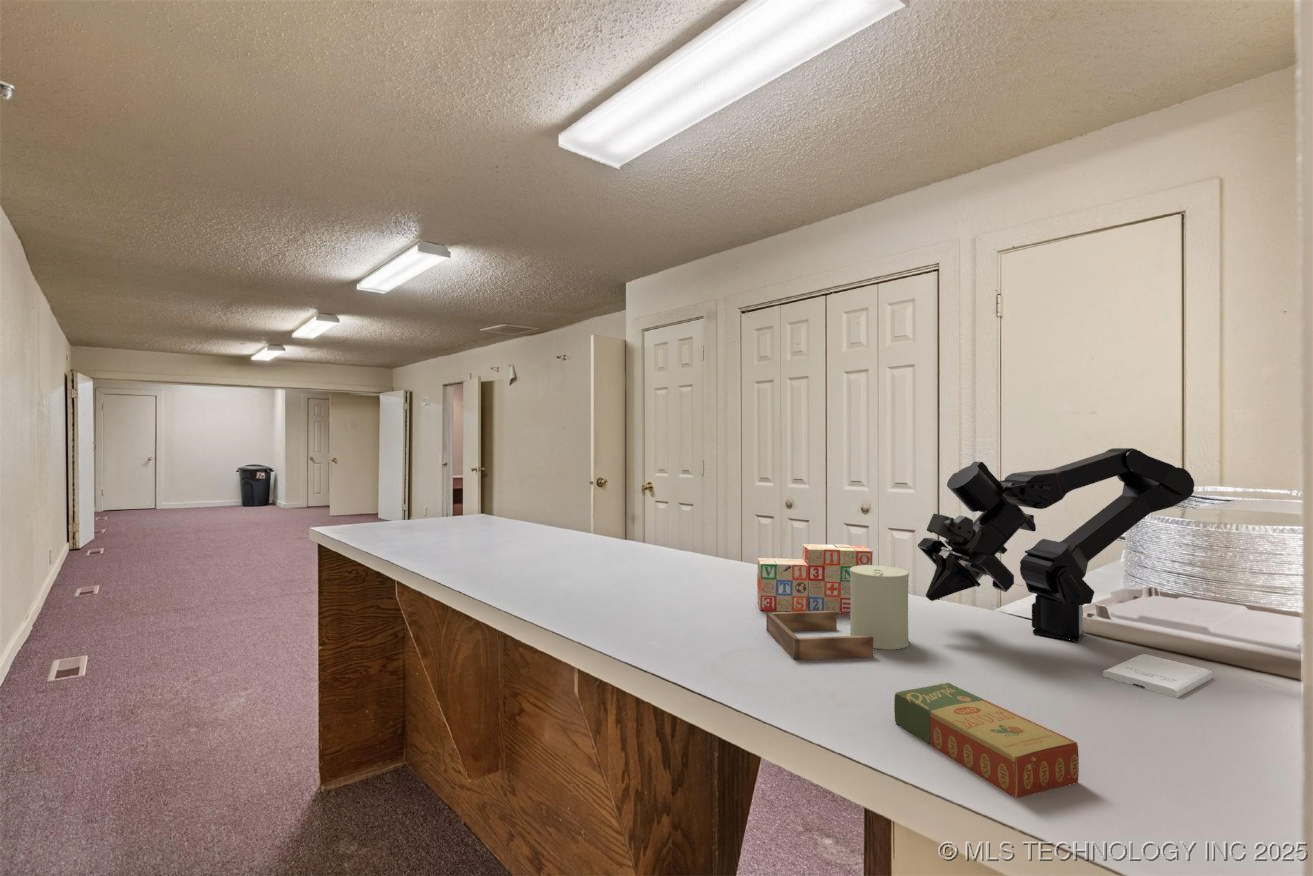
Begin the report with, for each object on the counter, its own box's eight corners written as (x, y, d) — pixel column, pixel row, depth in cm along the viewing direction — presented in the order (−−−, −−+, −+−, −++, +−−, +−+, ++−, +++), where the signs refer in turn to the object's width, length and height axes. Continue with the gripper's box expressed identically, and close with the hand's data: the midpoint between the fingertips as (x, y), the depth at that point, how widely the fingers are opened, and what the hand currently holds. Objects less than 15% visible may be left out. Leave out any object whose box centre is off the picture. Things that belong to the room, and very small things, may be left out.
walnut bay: (834, 627, 106) (834, 610, 106) (873, 656, 92) (873, 637, 92) (766, 630, 105) (766, 612, 105) (794, 659, 90) (794, 639, 90)
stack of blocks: (759, 611, 117) (759, 548, 117) (757, 603, 123) (757, 542, 123) (873, 614, 115) (873, 549, 115) (864, 606, 121) (864, 544, 121)
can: (847, 645, 97) (847, 570, 97) (851, 629, 105) (851, 560, 106) (909, 653, 93) (909, 575, 94) (909, 635, 102) (908, 564, 102)
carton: (1015, 803, 55) (1014, 755, 55) (892, 726, 70) (891, 688, 70) (1080, 785, 58) (1079, 740, 58) (948, 715, 73) (948, 679, 73)
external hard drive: (1212, 682, 84) (1177, 701, 77) (1141, 663, 91) (1102, 680, 84) (1212, 670, 84) (1177, 688, 77) (1140, 652, 91) (1102, 668, 84)
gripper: (927, 493, 110) (869, 554, 109) (996, 502, 92) (927, 577, 90) (968, 535, 111) (911, 597, 110) (1044, 554, 93) (976, 628, 91)
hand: (928, 598), depth 100 cm, fingers closed
